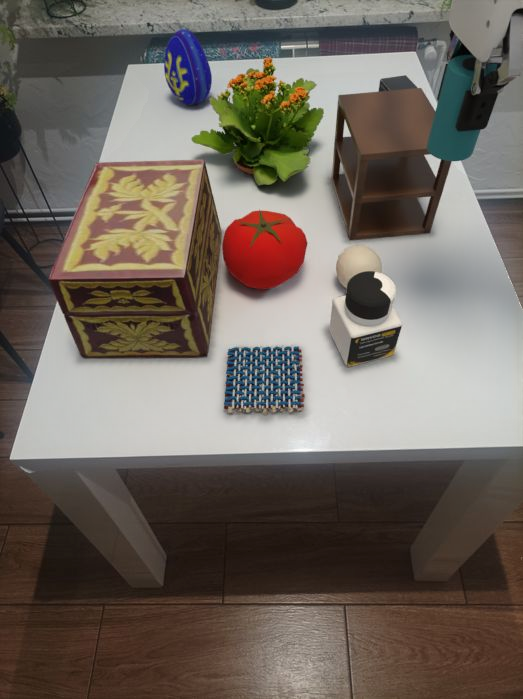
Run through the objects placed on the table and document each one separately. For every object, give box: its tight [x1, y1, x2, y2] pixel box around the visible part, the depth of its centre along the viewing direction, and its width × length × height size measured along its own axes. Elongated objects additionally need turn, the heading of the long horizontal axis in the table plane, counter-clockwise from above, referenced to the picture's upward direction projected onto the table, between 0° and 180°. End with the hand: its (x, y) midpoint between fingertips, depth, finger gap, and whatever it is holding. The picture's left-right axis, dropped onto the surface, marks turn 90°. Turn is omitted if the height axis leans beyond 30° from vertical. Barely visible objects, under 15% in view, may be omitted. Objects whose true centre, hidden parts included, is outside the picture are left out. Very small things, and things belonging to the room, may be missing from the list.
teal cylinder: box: [427, 55, 497, 162], centre depth 51 cm, size 5×5×9 cm
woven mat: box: [223, 344, 306, 416], centre depth 64 cm, size 10×11×2 cm
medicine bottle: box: [329, 271, 403, 368], centre depth 63 cm, size 7×7×12 cm
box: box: [377, 74, 419, 92], centre depth 96 cm, size 8×6×11 cm
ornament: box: [163, 28, 213, 106], centre depth 107 cm, size 11×9×15 cm
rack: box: [331, 87, 453, 241], centre depth 80 cm, size 14×18×16 cm
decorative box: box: [48, 159, 222, 359], centre depth 70 cm, size 28×19×15 cm
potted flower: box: [191, 57, 325, 187], centre depth 90 cm, size 25×24×18 cm
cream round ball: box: [335, 244, 383, 289], centre depth 73 cm, size 7×7×7 cm
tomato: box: [221, 209, 308, 290], centre depth 73 cm, size 13×12×11 cm
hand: (460, 113), depth 52 cm, fingers closed on teal cylinder, 5 cm apart
